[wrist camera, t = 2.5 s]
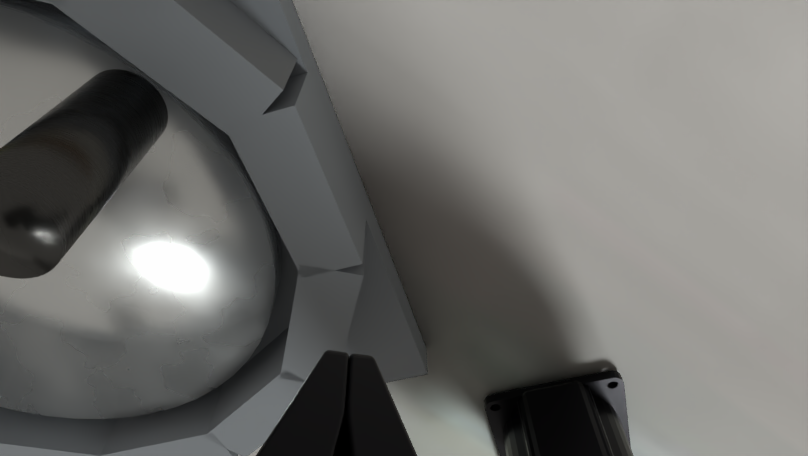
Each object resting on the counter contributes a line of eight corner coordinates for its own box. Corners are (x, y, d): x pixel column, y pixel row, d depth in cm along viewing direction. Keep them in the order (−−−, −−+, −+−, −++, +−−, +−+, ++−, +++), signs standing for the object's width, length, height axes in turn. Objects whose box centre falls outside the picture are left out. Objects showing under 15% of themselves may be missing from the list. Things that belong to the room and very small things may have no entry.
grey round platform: (426, 348, 25) (430, 430, 22) (8, 437, 28) (-47, 521, 25) (183, -282, 13) (105, -328, 10) (-491, -2, 16) (-734, 41, 13)
